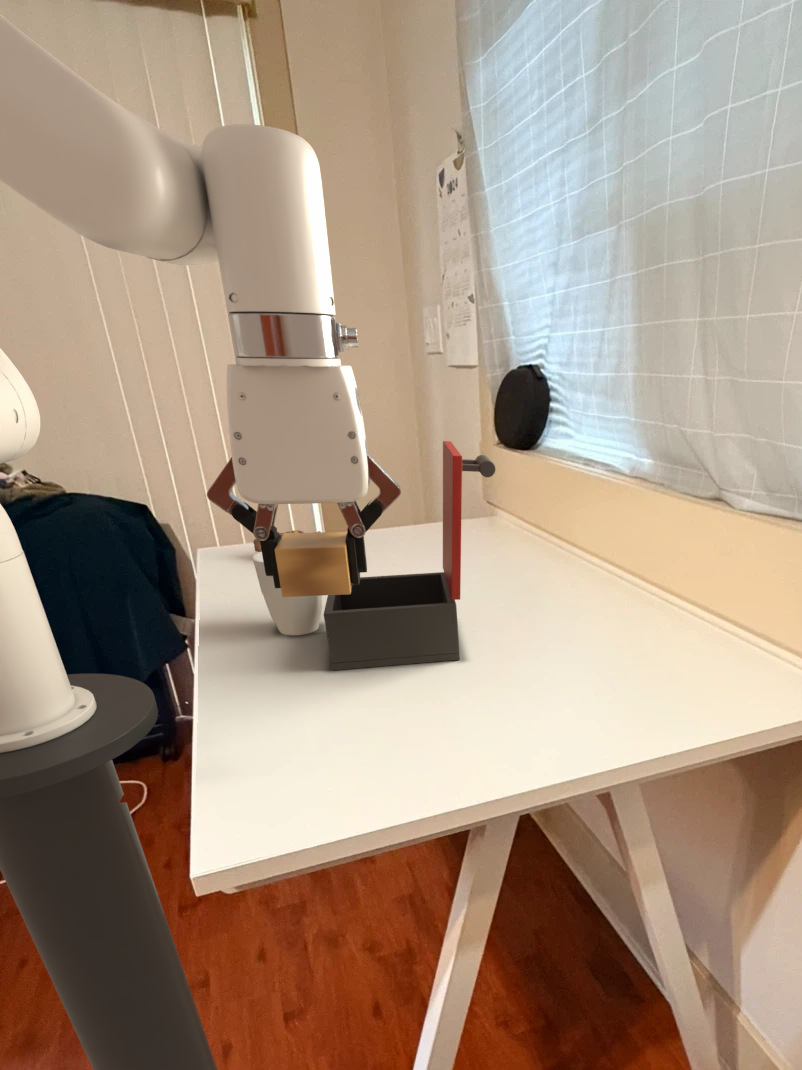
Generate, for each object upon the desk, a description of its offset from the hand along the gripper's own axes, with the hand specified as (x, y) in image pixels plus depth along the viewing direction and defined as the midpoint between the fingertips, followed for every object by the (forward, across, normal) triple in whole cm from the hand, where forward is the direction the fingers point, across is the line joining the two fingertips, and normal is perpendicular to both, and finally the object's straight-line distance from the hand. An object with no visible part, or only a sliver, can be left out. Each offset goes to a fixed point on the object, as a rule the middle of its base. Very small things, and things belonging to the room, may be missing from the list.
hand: (318, 580), depth 61 cm
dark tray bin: (+15, -6, -23) cm, 29 cm away
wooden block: (0, 0, 0) cm, 0 cm away
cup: (+16, +7, -32) cm, 36 cm away
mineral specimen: (+16, +12, -68) cm, 71 cm away
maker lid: (0, -13, -23) cm, 27 cm away
